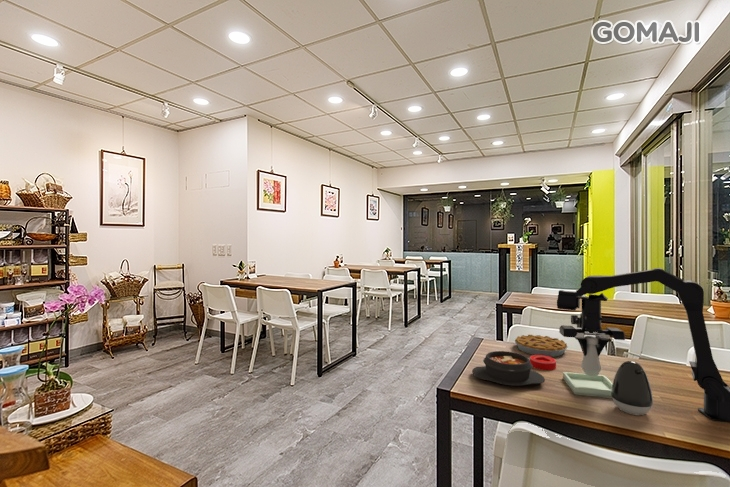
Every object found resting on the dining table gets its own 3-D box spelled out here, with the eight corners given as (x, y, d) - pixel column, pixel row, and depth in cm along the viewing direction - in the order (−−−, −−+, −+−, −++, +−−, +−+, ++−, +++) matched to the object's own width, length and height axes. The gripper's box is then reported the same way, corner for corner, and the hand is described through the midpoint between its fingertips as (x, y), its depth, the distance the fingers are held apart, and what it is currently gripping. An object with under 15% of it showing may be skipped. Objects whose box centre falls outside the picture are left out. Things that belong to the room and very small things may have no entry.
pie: (528, 340, 181) (528, 330, 181) (575, 351, 164) (575, 340, 164) (506, 349, 167) (506, 338, 167) (555, 362, 150) (555, 350, 150)
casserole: (474, 387, 125) (474, 363, 125) (470, 368, 144) (470, 347, 143) (551, 393, 120) (551, 369, 120) (537, 372, 138) (537, 351, 138)
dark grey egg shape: (621, 418, 104) (622, 366, 104) (604, 401, 114) (605, 354, 114) (661, 421, 102) (662, 368, 102) (640, 404, 112) (641, 356, 112)
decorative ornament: (549, 362, 150) (549, 354, 150) (560, 371, 140) (560, 363, 140) (526, 361, 151) (526, 354, 151) (534, 370, 141) (534, 362, 141)
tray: (621, 398, 116) (621, 391, 116) (575, 394, 119) (575, 387, 119) (604, 381, 129) (604, 375, 129) (562, 378, 133) (562, 372, 133)
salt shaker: (604, 377, 121) (603, 339, 120) (585, 376, 122) (585, 339, 122) (596, 371, 126) (596, 334, 126) (578, 370, 128) (578, 334, 127)
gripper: (611, 308, 129) (611, 351, 130) (555, 306, 134) (555, 348, 134) (626, 315, 118) (625, 362, 119) (564, 313, 123) (564, 358, 123)
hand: (591, 356), depth 124 cm, fingers closed on salt shaker, 3 cm apart
